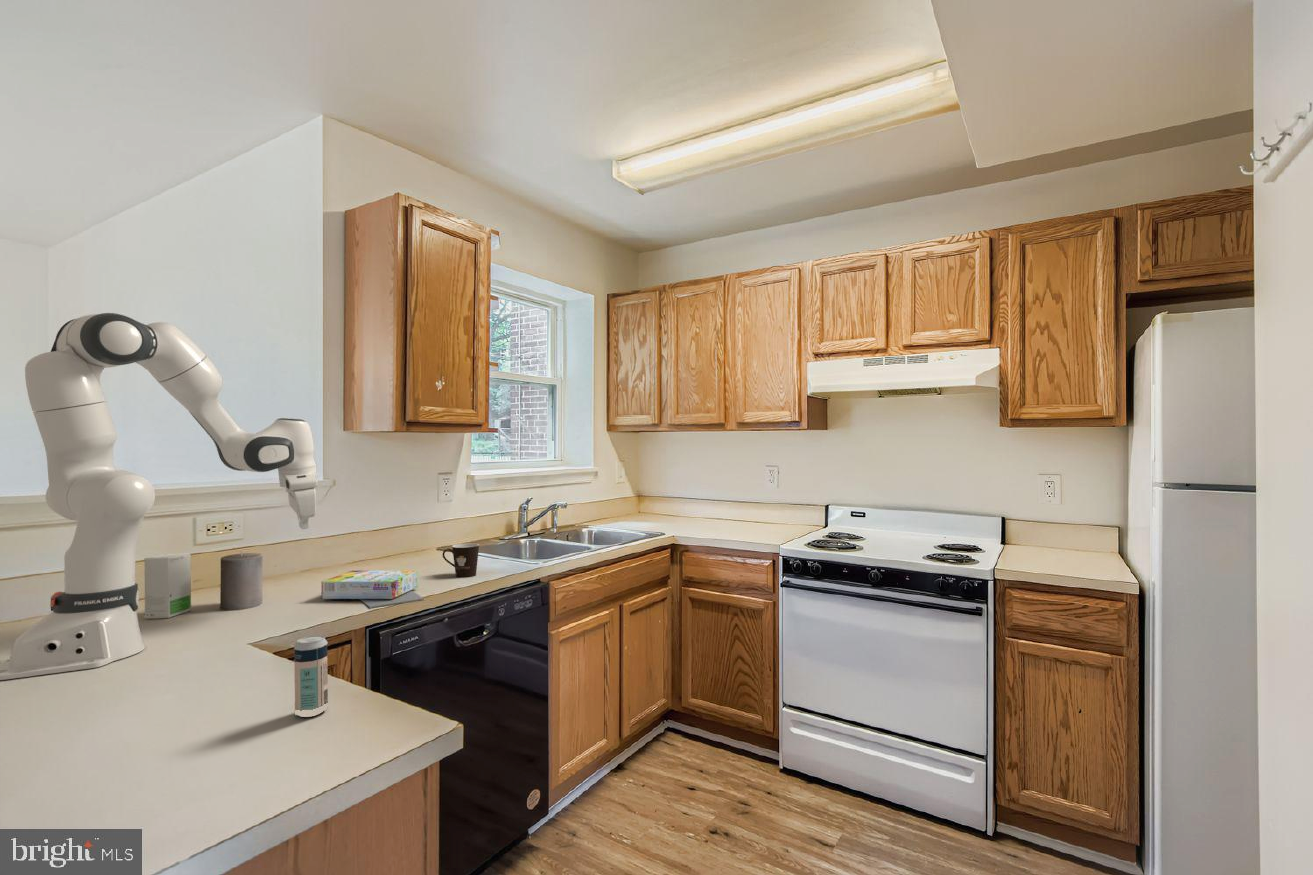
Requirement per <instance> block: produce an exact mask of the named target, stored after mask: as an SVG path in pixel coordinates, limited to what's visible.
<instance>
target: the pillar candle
mask: <svg viewBox="0 0 1313 875" xmlns="http://www.w3.org/2000/svg"><path fill="white" fill-rule="evenodd" d="M219 591H220V593H219V594H220V600H219V601H220V605H219V608H220V609H221V610H223V611H237V610H238V611H240V610H247V609H252V608H256V607H258V606H260V605H261V604H262V603H263V553H258V552H245V553H244V552H243V550H242V551H240V553H236V554H233V553H232V554H227V555H224V556H222V557H220V590H219ZM255 606H256V607H255Z"/></svg>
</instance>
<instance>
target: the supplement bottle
mask: <svg viewBox="0 0 1313 875" xmlns="http://www.w3.org/2000/svg"><path fill="white" fill-rule="evenodd" d="M328 643H329V642H328V641H327V640H326V638H325V636H324V635H320V634H317V635H316V634H315V635H307V636H305V637H301V638H299V639H297V640H296V642H295V644H294V647H293V649H294V711H295V710H300V711H302V710H313V709H316V708H319V707H321V706H323V705H324V704H326V703H328V702H329V698H328V697H329V696H328V695H329V688H328V686H329V685H328V682H329V681H328V678H329V677H328V673H329V672H328V671H329V670H328ZM328 704H329V703H328Z"/></svg>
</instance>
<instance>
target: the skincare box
mask: <svg viewBox="0 0 1313 875" xmlns="http://www.w3.org/2000/svg"><path fill="white" fill-rule="evenodd" d="M143 561H144V619H146V620H148V619H149V620H150V619H153V620H154V619H158V620H159V619H170V618H172V617H175V616H178V615H182V614H185V613H187V612H188V613H189V612H190V611H192V585H191V584H192V582H191V581H192V579H191V577H192V574H191V572H192V571H191V570H192V569H191V568H192V567H191V566H192V565H191V552H180V553H166V554H160V555H154V556H149V557H144V559H143Z"/></svg>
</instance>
